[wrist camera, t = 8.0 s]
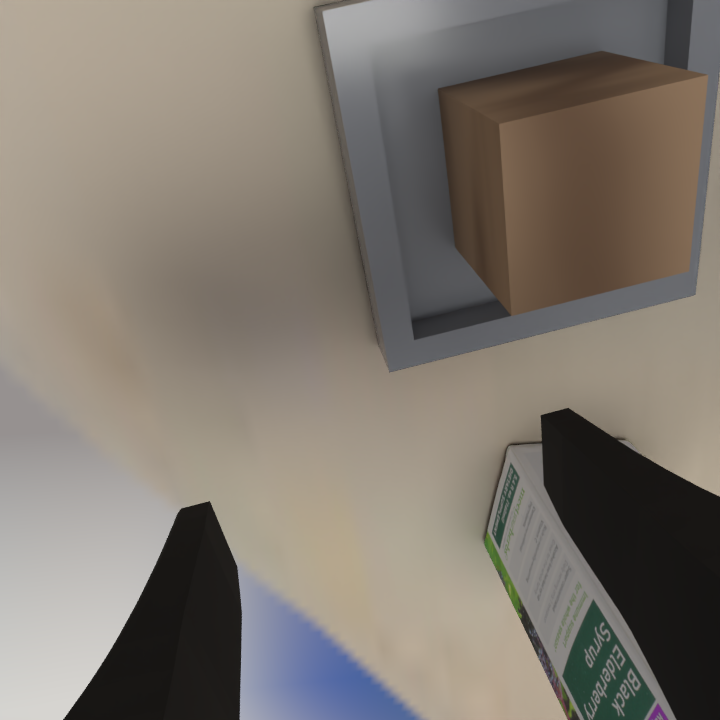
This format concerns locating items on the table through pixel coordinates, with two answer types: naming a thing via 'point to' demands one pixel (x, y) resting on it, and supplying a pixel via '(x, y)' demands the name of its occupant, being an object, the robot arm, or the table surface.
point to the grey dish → (427, 155)
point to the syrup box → (566, 603)
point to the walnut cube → (574, 176)
